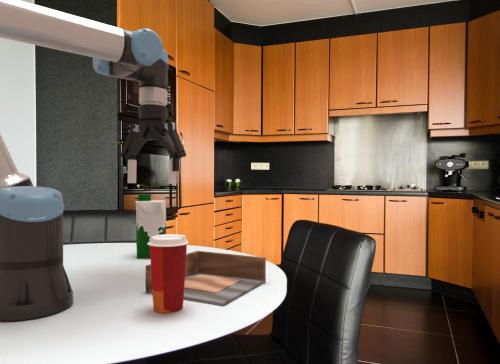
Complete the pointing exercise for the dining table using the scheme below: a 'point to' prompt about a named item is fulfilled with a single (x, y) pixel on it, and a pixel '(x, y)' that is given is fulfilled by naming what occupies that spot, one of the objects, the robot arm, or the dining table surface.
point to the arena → (218, 276)
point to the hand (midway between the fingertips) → (151, 183)
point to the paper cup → (168, 271)
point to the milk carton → (148, 222)
